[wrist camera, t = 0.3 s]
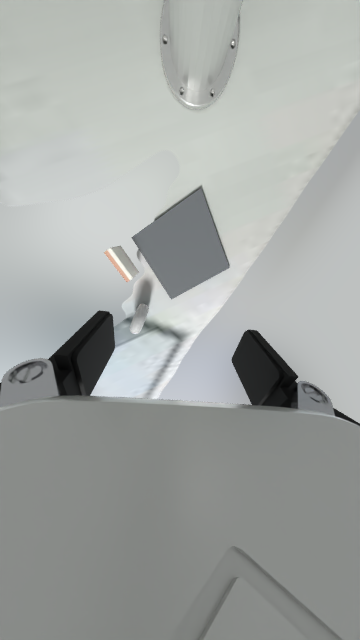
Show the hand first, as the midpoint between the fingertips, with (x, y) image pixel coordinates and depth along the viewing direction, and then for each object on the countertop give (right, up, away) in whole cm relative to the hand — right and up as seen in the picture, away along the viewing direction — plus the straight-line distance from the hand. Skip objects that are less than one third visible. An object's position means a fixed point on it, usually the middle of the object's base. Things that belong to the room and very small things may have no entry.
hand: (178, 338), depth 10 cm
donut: (-13, +4, +39) cm, 41 cm away
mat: (+1, +20, +29) cm, 36 cm away
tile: (-15, +18, +30) cm, 38 cm away
